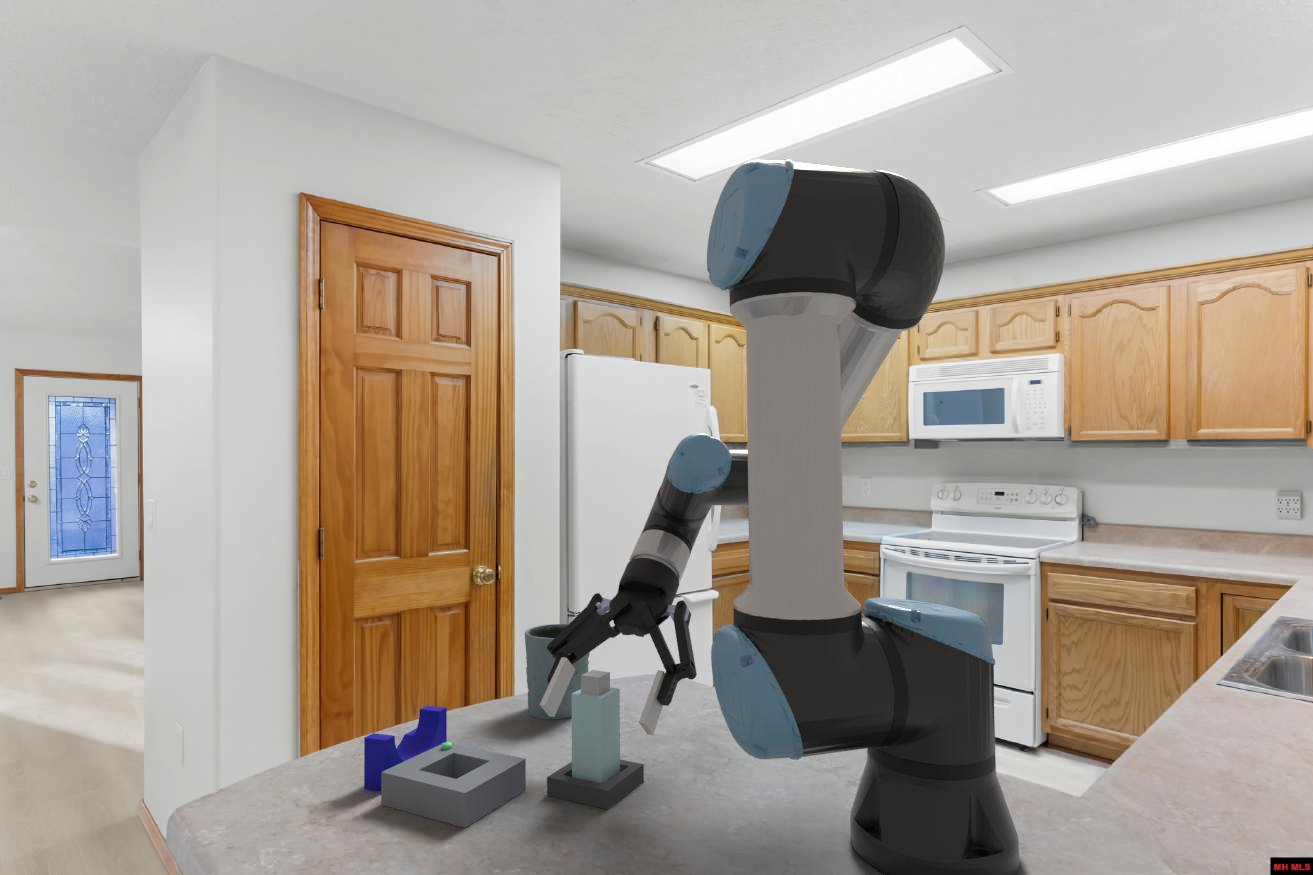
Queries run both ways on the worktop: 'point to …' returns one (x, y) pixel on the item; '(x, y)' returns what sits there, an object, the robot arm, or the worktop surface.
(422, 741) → the cable clip
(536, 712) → the grey-green tumbler cup
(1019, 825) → the worktop surface
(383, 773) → the block
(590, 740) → the capped teal pillar
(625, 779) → the frame
